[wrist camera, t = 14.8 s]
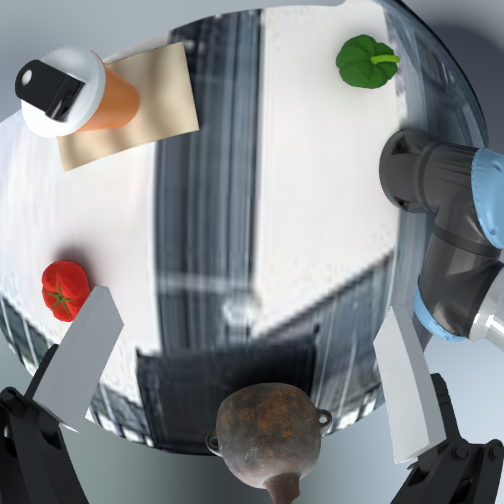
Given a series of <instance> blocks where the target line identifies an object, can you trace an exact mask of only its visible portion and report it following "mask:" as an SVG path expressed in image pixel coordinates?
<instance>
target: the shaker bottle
mask: <svg viewBox="0 0 504 504" xmlns="http://www.w3.org/2000/svg"><path fill="white" fill-rule="evenodd" d="M15 92H16V95H17V97H18V98H20V99H22V111H23V116H24V118H25V121H26V123H27V125H28V126H29V128H30V129H31V130H32V131H33V132H35V133H36V134H38V135H40V136H44V137H62V136H66V135H70V134H72V133H74V132H82V131H91V130H100V129H112V128H119V127H122V126H124V125H126V124H127V123H129V122H130V121H131V120H132V119H133V118H134V116H135V115H136V113H137V111H138V108H139V95H138V92H137V90H136V89H135V88H134V86H132V85H131V84H130V83H129V82H127V81H126V80H125V79H123V78H122V77H121V76H120V75H118V74H117V73H116V72H115V71H113V70H112V69H111V68H109V67H108V66H107V65H106V64H104V63H103V62H102V60H101V59H100V58H99V57H98V55H97V54H95V53H94V52H92V51H90V50H88V49H86V48H85V47H82V46H79V45H66V46H62V47H60V48H58V49H55V50H53V51H52V52H50V53H49V54H47V55H46V56H45V57H44V58H43V59H41V60H33V61H30V62H29V63H27V64H26V65H25V66H24V67H23V68H22V69H21V70H20V71H19V73H18V75H17V78H16V82H15Z"/></svg>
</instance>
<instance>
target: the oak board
mask: <svg viewBox="0 0 504 504" xmlns="http://www.w3.org/2000/svg"><path fill="white" fill-rule="evenodd" d="M107 66H108V67H109V68H111V69H112V70H113V71H115V72H116V73H117V74H118V75H120V76H121V77H122V78H123V79H125V80H126V81H127V82H129V83H130V84H131V85H132V86H134V88H135V89H136V90H137V92H138V95H139V108H138V111H137V113H136V115H135V116H134V118H133V119H132V120H131V121H130V122H129V123H127V124H126V125H124V126H122V127H119V128H112V129H100V130H91V131H82V132H74V133H72V134H70V135H66V136H62V137H57V140H58V145H59V150H60V155H61V160H62V164H63V168H64V172H66V171H69V170H72V169H74V168H77V167H79V166H82V165H84V164H87V163H90V162H92V161H95V160H98V159H101V158H103V157H106V156H109V155H112V154H115V153H118V152H121V151H124V150H127V149H130V148H133V147H137V146H140V145H143V144H147V143H150V142H154V141H157V140H161V139H164V138H168V137H172V136H176V135H180V134H184V133H188V132H192V131H197V130H200V129H199V124H198V119H197V114H196V109H195V103H194V98H193V93H192V87H191V82H190V77H189V71H188V66H187V60H186V54H185V49H184V44H183V42H179V43H175V44H171V45H167V46H163V47H159V48H156V49H152V50H149V51H146V52H142V53H139V54H136V55H133V56H130V57H127V58H124V59H122V60H119V61H116V62H113V63H111V64H108V65H107Z"/></svg>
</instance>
